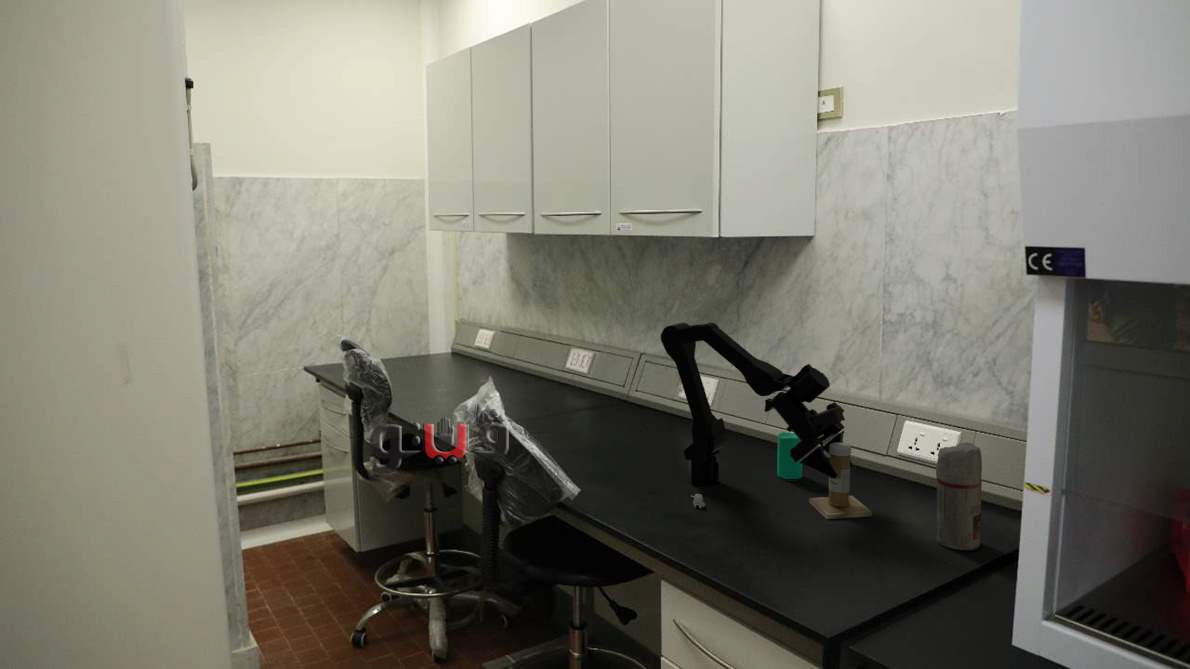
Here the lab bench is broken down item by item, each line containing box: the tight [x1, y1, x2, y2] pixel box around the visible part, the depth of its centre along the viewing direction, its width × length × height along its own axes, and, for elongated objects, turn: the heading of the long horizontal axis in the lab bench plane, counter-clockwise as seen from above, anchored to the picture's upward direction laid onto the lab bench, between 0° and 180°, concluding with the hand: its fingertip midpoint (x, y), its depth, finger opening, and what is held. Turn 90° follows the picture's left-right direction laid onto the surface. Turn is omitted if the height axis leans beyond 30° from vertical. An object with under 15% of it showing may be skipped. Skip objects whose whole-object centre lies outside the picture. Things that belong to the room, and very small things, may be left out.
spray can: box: [935, 442, 983, 551], centre depth 156 cm, size 8×8×20 cm
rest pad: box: [808, 495, 873, 520], centre depth 177 cm, size 10×10×1 cm
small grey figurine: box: [690, 493, 706, 509], centre depth 180 cm, size 3×3×3 cm
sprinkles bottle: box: [828, 442, 852, 507], centre depth 176 cm, size 5×5×13 cm
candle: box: [776, 431, 804, 480], centre depth 198 cm, size 6×6×12 cm
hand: (843, 471), depth 175 cm, fingers open, 9 cm apart
